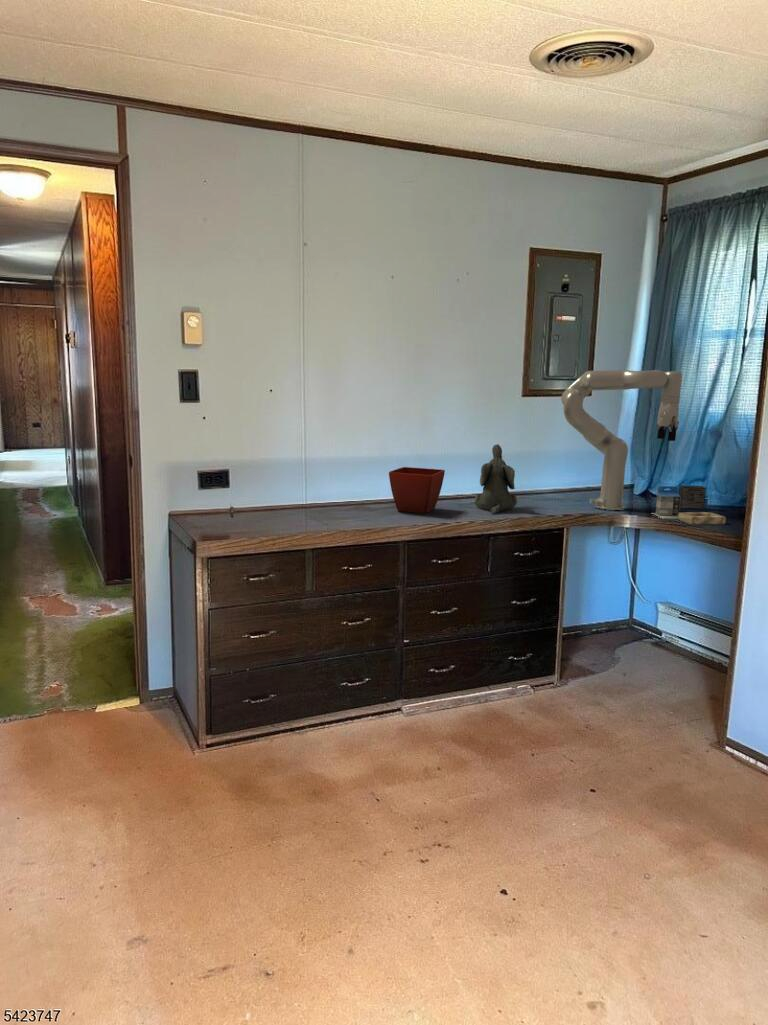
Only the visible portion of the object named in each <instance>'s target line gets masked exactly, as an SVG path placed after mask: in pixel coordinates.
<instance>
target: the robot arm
mask: <svg viewBox="0 0 768 1025" xmlns="http://www.w3.org/2000/svg"><path fill="white" fill-rule="evenodd" d="M682 380H683V373H682V372H681V371H673V370H671V371H663V370H660V369H653V370H628V369H610V370H609V369H608V370H607V369H606V370H587V371H585V372H584V373H583V374H582V375H580V376H579V378H577V379H576V380H575V381H574V382H573V383H572V384H571V385H570V386H568V388H567V389H565V390H564V391H563V392H562V394H561V397H560V398H561V399H560V400H561V403H562V405H563V415H564V418H565V419H566V422H567V423H568V424H569V425H570V426H571V427H573V429H575V430H576V431H577V432H578V433H580V434H581V435H582V436H583V438H584V439H585V440H586V442H588V443H589V444H590V445H591V446H592V447H594V448H595V449H596V450H598V451H599V452H600V453H601V454H602V455H604V457H603V465H602V470H601V471H602V474H601V487H600V495H599V496H598V497H597V498H596V499H595V498H594V499H592V498H590V499H589V504H590V505H591V504H593V505H594V504H595V508H597V509H599V508H600V510H604V509H606V510H605V511H614V510H620V511H624V510H623V509H626V506H625V505H623V495H624V488H625V487H624V486H625V477H626V476H625V474H626V465H627V459H628V455H629V454H628V453H629V448H628V444H627V443H626V441H625V440H624V439H622V438H620V437H617V436H616V435H615V434H613V433H612V432H611V431H610V430H608V428H607V427H606V426H605V425H604V424H603V423H601V422H599V421H598V420H597V419H595V418H594V417H593V416H591V415H590V414H589V413H588V412H587V411H586V410H585V409H584V407H583V406H584V405H583V404H584V399H585V398H586V397H588V396H589V395H590V394H591V392H593V391H616V390H617V391H621V390H622V391H624V390H625V391H626V390H636V389H638V390H639V389H642V390H643V389H660V388H662V389H661V396H660V397H661V398H660V404H659V405H660V406H659V407H658V408H659V409H658V414H657V422H656V424H657V435H656V436H657V437H656V439H659V440H661V439H662V440H663V439H665V436H666V427H668V429H669V431H668V436H667V441H669V442H675V441H676V438H677V432H678V429H679V425H680V421H679V405H680V400H681V399H680V398H681V392H682V382H683V381H682Z"/></svg>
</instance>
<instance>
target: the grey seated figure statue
mask: <svg viewBox="0 0 768 1025" xmlns="http://www.w3.org/2000/svg"><path fill="white" fill-rule="evenodd" d="M491 452H492V457H493V458H492V459H490V460H489V462H486V463H483V464H482V466H481V468H480V478H479V484H480V487H482V492H481V493H477V494H476V495H475V497H474V505H475V506H476V507H477V508H479V509H482V510H488V511H490V513H491V514H493V513H495V514H497V513H498V511H500V512H502V511H504V510H510V509H513V508H514V507H515V506H516V505H517V503H518V502H517V501H518V498H517V494H513V493H510V492H509V489H510V490H515V489H516V487H515V472H516V471H515V469H514V468H513V467H511V465H507V463H506V462H505V460H503V450H502V447H501V445H499V444H498V443H497V444H494V445H493V446H492V450H491Z"/></svg>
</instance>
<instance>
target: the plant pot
mask: <svg viewBox="0 0 768 1025" xmlns="http://www.w3.org/2000/svg"><path fill="white" fill-rule="evenodd" d="M445 471H446V470H445V469H441V468H440V469H438V468H437V469H436V468H427V467H424V468H423V467H413V466H411V467H410V466H409V467H408V466H402V467H400V468H396V469H394V470H391V471H390V470H389V471H388V479H389V484H390V489H391V493H392V497H393V501H394V503H395V507H396V510H397V511H398V512H407V513H419V514H427V513H429V512H431V511H432V510H434V509H435V508H436V506H437V503H438V500H439V497H440V493H441V491H442V487H443V483H444V478H445V473H446V472H445Z"/></svg>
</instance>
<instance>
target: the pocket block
mask: <svg viewBox="0 0 768 1025" xmlns="http://www.w3.org/2000/svg"><path fill="white" fill-rule="evenodd" d="M726 519H727V517H726V516H724V515H720V514H718V513H715V512H707V511H706V512H705V511H702V512H682V511H681V512H680V511H679V518H678V519H677V520H678V521H681V522H684V523H687V524H689V525H726Z"/></svg>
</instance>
